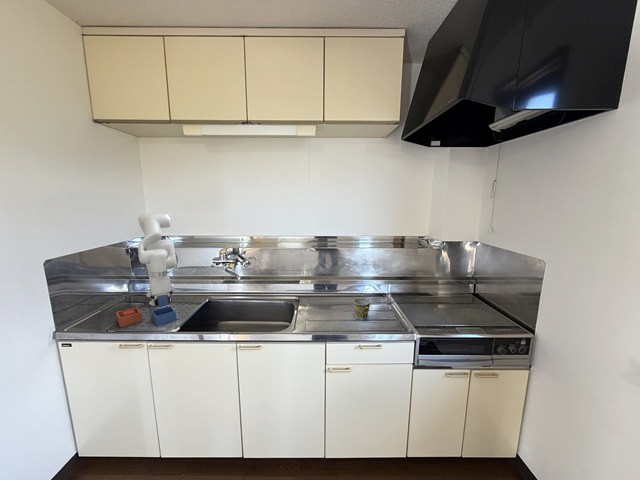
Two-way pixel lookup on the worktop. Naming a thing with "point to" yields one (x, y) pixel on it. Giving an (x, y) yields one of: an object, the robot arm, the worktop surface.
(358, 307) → the ceramic cup
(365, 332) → the worktop surface
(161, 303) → the blue block
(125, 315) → the red block
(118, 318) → the red bin
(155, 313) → the blue bin
